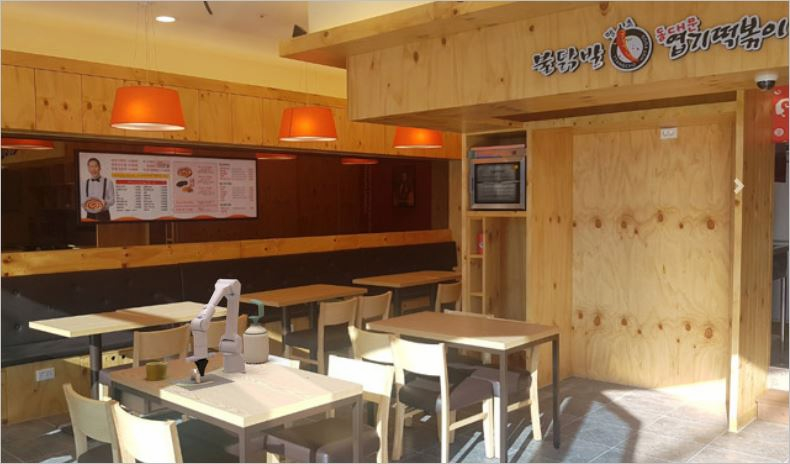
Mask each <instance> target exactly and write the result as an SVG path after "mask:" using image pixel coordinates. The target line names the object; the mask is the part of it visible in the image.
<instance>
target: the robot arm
mask: <svg viewBox="0 0 790 464" xmlns="http://www.w3.org/2000/svg"><path fill="white" fill-rule="evenodd" d="M241 289H242V283H240V281H239V280H238V279H228V278H227V279H226V278H224V279H223V278H219V279H218V280H217V281H216V283H215V284H214V291H213V294H212V296H210V297H211V298H210V299H209V301H208V303H207V304H204V305H203V306H202V308H201V309H200V311H199V313H198V315H197V316H196V317H195V318H193V319H192V320H191V321H190V325H189V328H190V330H191V335H192V336H193V355H192V356H189V357H185V363H186V364H190V363H191V364H192V363H194V365H195V366H196V368H198V371H199V373H200V376H202V377H203V376H204V375H205V371H206V368H207V365H208V363H209V359H210V358H216V357H217V353H216V352H213V351H212V352H208V331H209V329H210V325H211V320H212V318H213V317H214V315H215V313H216V311H217V310H216V307H217V306H218V304H219V302H221V300H222V299H223V297H225V298H226V300H227V306H226V319H225V330H224V331H225V332H224V333H223V335H221V336H220V341H219V344H218V349H219V350H218V351H219V352H220V353H221V355H222V362H223V363H222V366H223V367H222V369H223V373H225V374H233V373H240V374H243V373H246V360H245V358H244V353H242V351H243V349H244V345H243V337H241V335H239V334H238V325H239V324H238V323H239V313H240V312H239V311H240V309H239V308H240V297H241Z"/></svg>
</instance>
